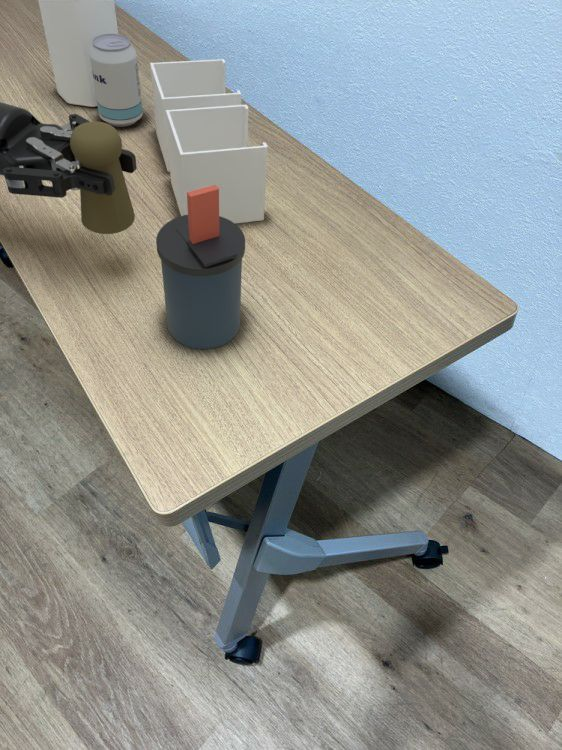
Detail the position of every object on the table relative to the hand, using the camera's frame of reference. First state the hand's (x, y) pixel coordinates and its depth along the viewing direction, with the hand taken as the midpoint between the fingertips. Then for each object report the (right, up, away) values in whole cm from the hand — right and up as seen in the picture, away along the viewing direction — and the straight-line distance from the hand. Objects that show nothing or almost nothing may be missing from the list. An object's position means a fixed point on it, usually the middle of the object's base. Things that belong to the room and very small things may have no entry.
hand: (123, 174), depth 66 cm
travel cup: (+8, -15, +6) cm, 18 cm away
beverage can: (-9, +20, +34) cm, 41 cm away
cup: (-15, +27, +39) cm, 50 cm away
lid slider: (+10, -9, -5) cm, 14 cm away
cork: (-3, -3, +6) cm, 7 cm away
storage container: (+6, +8, +26) cm, 28 cm away
